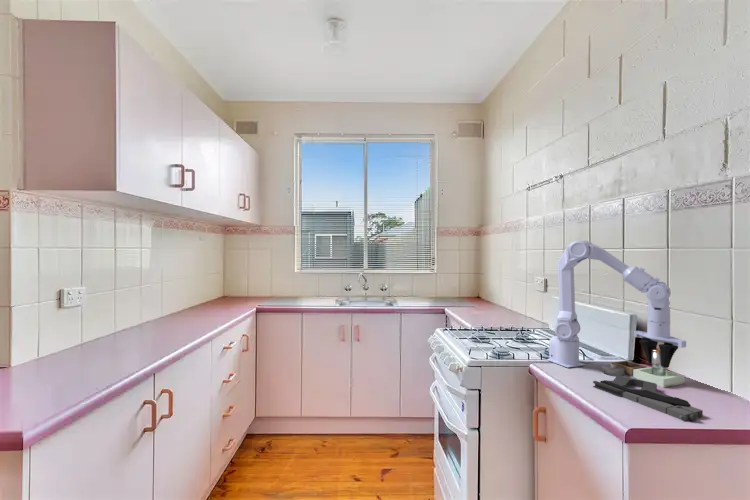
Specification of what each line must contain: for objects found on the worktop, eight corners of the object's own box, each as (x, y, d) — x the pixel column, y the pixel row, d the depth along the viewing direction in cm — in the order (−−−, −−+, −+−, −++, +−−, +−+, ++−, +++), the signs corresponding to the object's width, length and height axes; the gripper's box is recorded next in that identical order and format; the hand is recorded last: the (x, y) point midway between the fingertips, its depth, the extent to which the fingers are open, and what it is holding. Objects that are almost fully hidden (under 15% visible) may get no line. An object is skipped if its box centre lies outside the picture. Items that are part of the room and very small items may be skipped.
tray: (633, 377, 121) (633, 369, 121) (653, 374, 124) (653, 366, 124) (663, 387, 112) (663, 379, 112) (684, 383, 115) (684, 375, 115)
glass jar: (648, 373, 119) (648, 348, 119) (656, 371, 120) (656, 347, 120) (660, 376, 116) (660, 351, 116) (668, 375, 117) (668, 350, 117)
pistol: (625, 373, 119) (590, 380, 114) (725, 405, 95) (687, 415, 90) (625, 381, 119) (590, 387, 114) (725, 414, 95) (687, 424, 90)
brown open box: (597, 371, 127) (597, 362, 127) (626, 366, 131) (626, 358, 131) (616, 377, 120) (616, 369, 120) (647, 373, 125) (647, 364, 125)
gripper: (693, 325, 112) (693, 370, 112) (644, 316, 126) (644, 357, 126) (676, 326, 110) (676, 373, 110) (629, 317, 124) (629, 359, 124)
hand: (658, 365), depth 118 cm, fingers closed on glass jar, 4 cm apart
